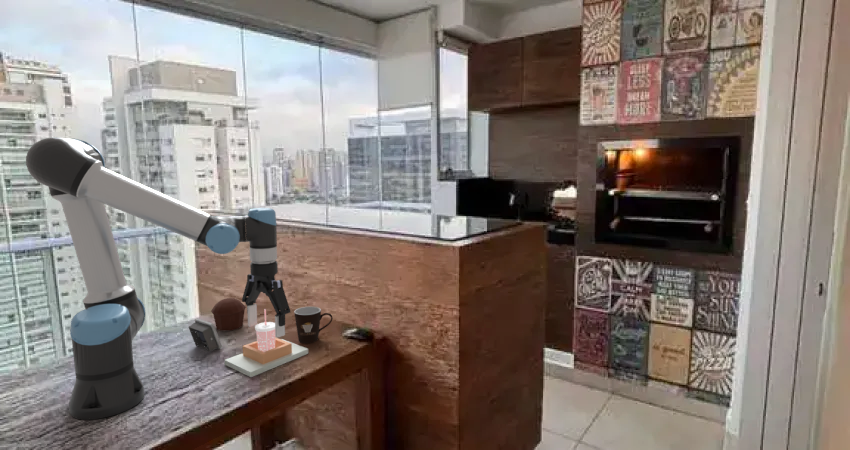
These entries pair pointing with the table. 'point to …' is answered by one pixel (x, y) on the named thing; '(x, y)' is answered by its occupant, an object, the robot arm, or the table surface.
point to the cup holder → (264, 357)
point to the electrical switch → (205, 335)
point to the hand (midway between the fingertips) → (266, 330)
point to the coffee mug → (309, 323)
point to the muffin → (228, 314)
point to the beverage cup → (265, 335)
